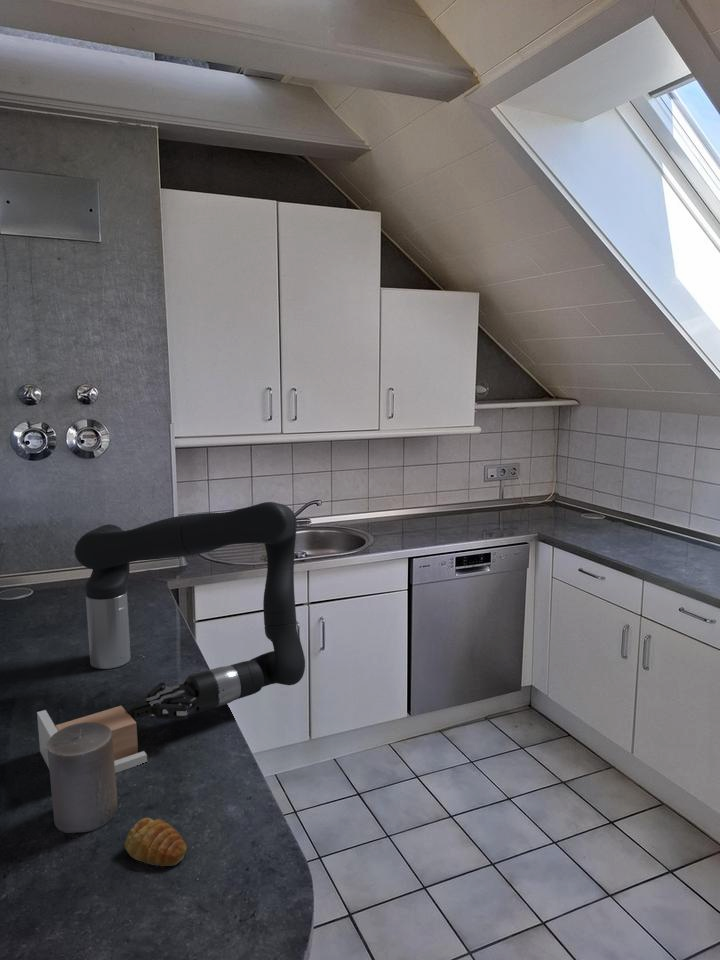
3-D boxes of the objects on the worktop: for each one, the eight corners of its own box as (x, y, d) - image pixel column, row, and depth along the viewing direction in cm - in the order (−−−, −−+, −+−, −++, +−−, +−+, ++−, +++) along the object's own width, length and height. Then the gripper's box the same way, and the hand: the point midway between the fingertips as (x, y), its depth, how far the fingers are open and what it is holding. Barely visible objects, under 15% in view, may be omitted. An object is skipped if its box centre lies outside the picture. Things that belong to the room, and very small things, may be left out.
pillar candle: (97, 788, 120) (91, 708, 117) (129, 811, 114) (123, 727, 111) (42, 817, 113) (33, 732, 110) (73, 844, 106) (65, 755, 104)
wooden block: (58, 760, 128) (55, 725, 127) (123, 738, 136) (121, 705, 134) (71, 781, 122) (68, 744, 121) (138, 757, 129) (136, 722, 128)
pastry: (197, 850, 106) (197, 827, 105) (165, 879, 100) (164, 855, 99) (152, 829, 110) (151, 807, 109) (119, 855, 104) (117, 833, 104)
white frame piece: (40, 751, 131) (36, 712, 129) (120, 726, 139) (118, 689, 138) (60, 792, 119) (57, 749, 117) (147, 762, 128) (145, 721, 126)
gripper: (199, 659, 147) (116, 681, 137) (227, 683, 136) (139, 709, 126) (200, 692, 148) (118, 717, 138) (228, 718, 138) (141, 747, 127)
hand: (128, 713), depth 132 cm, fingers closed
